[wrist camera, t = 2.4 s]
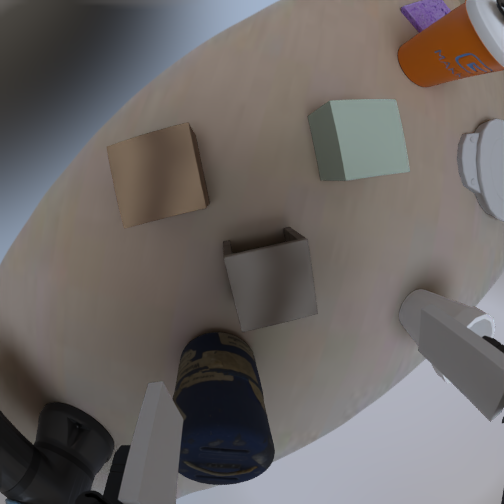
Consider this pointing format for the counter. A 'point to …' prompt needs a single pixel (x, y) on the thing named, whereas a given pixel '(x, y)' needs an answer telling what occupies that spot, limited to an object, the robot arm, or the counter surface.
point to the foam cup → (460, 312)
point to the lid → (484, 165)
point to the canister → (221, 412)
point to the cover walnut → (158, 175)
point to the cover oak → (272, 282)
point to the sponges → (425, 13)
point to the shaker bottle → (457, 45)
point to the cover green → (358, 139)
